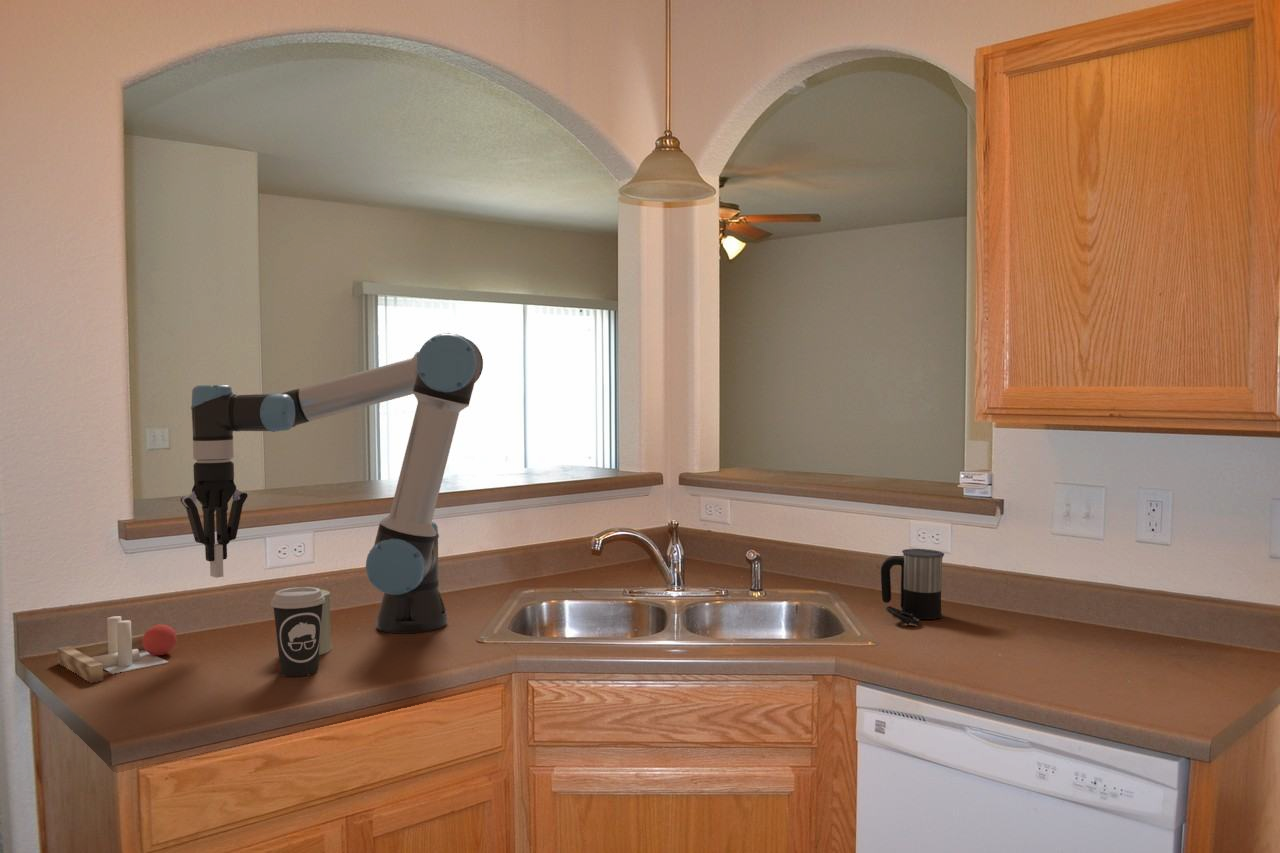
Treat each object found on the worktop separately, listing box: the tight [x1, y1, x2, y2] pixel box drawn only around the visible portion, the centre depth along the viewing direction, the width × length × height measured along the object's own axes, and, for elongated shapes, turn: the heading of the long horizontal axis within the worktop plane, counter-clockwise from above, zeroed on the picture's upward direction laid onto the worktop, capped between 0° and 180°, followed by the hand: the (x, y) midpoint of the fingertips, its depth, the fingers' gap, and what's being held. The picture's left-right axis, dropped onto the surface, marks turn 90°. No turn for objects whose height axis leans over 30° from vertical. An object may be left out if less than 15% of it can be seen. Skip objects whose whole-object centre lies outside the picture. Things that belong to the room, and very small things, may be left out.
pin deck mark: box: [103, 650, 169, 675], centre depth 185 cm, size 12×10×1 cm
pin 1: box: [106, 615, 123, 654], centre depth 186 cm, size 2×2×8 cm
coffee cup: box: [270, 586, 325, 677], centre depth 179 cm, size 10×10×15 cm
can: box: [319, 589, 332, 656], centre depth 193 cm, size 9×9×12 cm
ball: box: [143, 623, 178, 657], centre depth 190 cm, size 6×6×6 cm
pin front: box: [90, 649, 140, 667], centre depth 183 cm, size 2×2×8 cm
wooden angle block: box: [57, 633, 146, 684], centre depth 185 cm, size 18×18×3 cm
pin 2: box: [117, 619, 133, 667], centre depth 182 cm, size 2×2×8 cm
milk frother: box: [880, 548, 945, 626], centre depth 218 cm, size 14×16×15 cm
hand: (216, 576), depth 197 cm, fingers closed
